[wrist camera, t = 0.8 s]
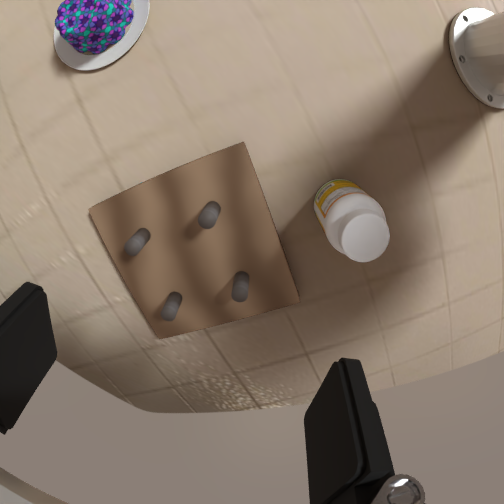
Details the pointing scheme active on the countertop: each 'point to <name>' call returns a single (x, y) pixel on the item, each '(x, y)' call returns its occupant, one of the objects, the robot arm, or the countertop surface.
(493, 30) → the robot arm
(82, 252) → the countertop surface
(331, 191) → the supplement bottle
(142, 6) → the pudding
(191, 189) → the peg cradle
